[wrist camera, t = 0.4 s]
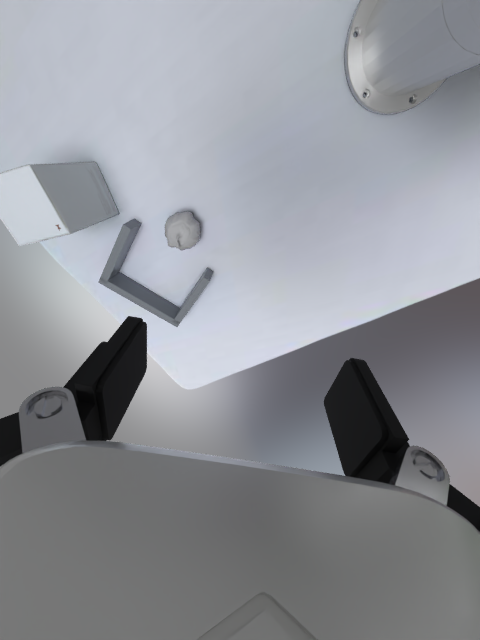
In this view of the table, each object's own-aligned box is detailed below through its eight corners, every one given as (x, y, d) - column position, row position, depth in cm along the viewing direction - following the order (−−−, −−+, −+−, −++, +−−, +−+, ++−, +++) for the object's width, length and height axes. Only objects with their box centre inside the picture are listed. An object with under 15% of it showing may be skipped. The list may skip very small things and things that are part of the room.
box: (134, 218, 40) (123, 224, 37) (213, 271, 44) (209, 281, 41) (110, 272, 45) (98, 282, 42) (182, 315, 50) (177, 327, 46)
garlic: (192, 252, 43) (184, 263, 38) (163, 233, 41) (151, 243, 37) (210, 222, 40) (204, 230, 35) (179, 200, 38) (169, 206, 34)
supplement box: (97, 160, 36) (30, 162, 25) (120, 214, 40) (71, 236, 29) (52, 172, 37) (-29, 179, 27) (79, 224, 41) (18, 248, 30)
